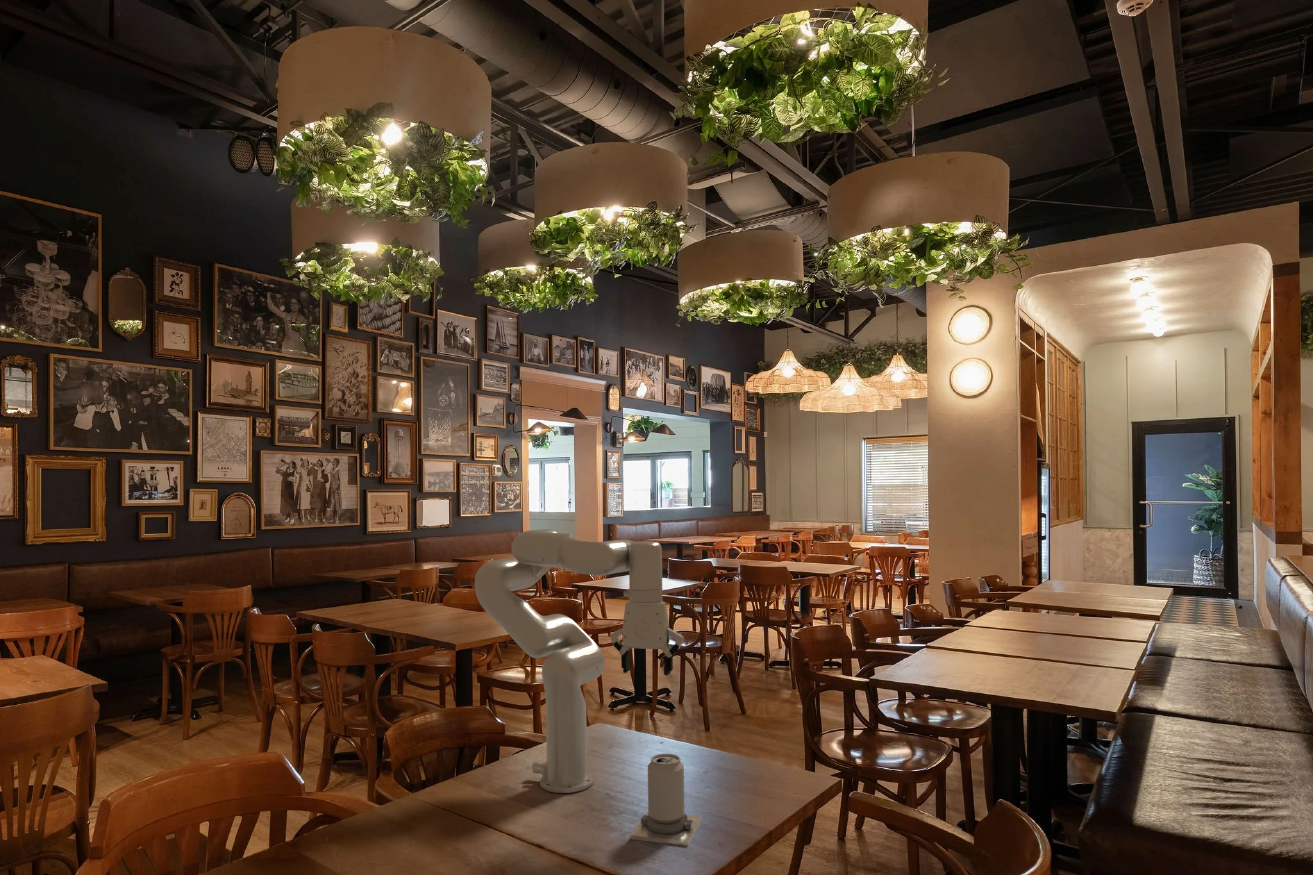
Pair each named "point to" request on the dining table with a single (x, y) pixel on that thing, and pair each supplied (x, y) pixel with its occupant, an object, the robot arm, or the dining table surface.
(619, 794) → the dining table surface
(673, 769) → the can
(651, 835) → the white flat square plate
